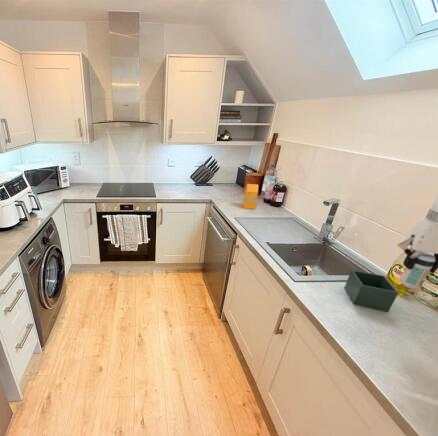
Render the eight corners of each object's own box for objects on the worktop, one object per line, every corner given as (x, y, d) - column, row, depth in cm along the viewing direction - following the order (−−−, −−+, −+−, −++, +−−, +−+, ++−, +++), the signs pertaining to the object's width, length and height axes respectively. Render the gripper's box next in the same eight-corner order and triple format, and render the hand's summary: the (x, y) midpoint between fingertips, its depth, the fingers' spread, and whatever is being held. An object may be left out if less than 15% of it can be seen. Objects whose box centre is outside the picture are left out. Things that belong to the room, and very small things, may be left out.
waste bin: (375, 294, 102) (384, 275, 98) (388, 312, 92) (398, 292, 89) (344, 287, 106) (351, 269, 102) (353, 304, 96) (361, 285, 92)
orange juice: (242, 205, 203) (246, 182, 195) (253, 206, 201) (257, 183, 193) (243, 208, 196) (247, 185, 188) (254, 209, 194) (259, 185, 186)
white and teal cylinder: (414, 282, 81) (431, 252, 76) (422, 291, 77) (441, 260, 72) (396, 279, 82) (411, 249, 78) (403, 287, 78) (420, 257, 74)
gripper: (475, 217, 70) (444, 268, 77) (401, 210, 76) (379, 257, 83) (498, 227, 64) (462, 281, 71) (416, 218, 69) (391, 269, 77)
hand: (418, 268), depth 77 cm, fingers closed on white and teal cylinder, 4 cm apart
